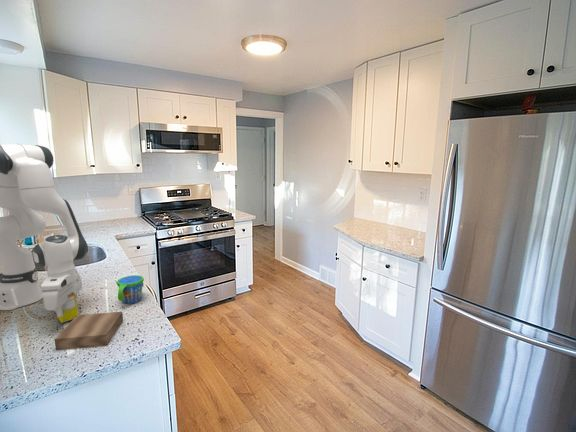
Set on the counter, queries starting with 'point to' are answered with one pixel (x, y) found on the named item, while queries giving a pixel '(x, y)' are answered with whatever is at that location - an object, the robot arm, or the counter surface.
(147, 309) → the counter surface
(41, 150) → the robot arm
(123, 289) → the snack cup
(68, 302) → the supplement box
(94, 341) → the walnut plinth
